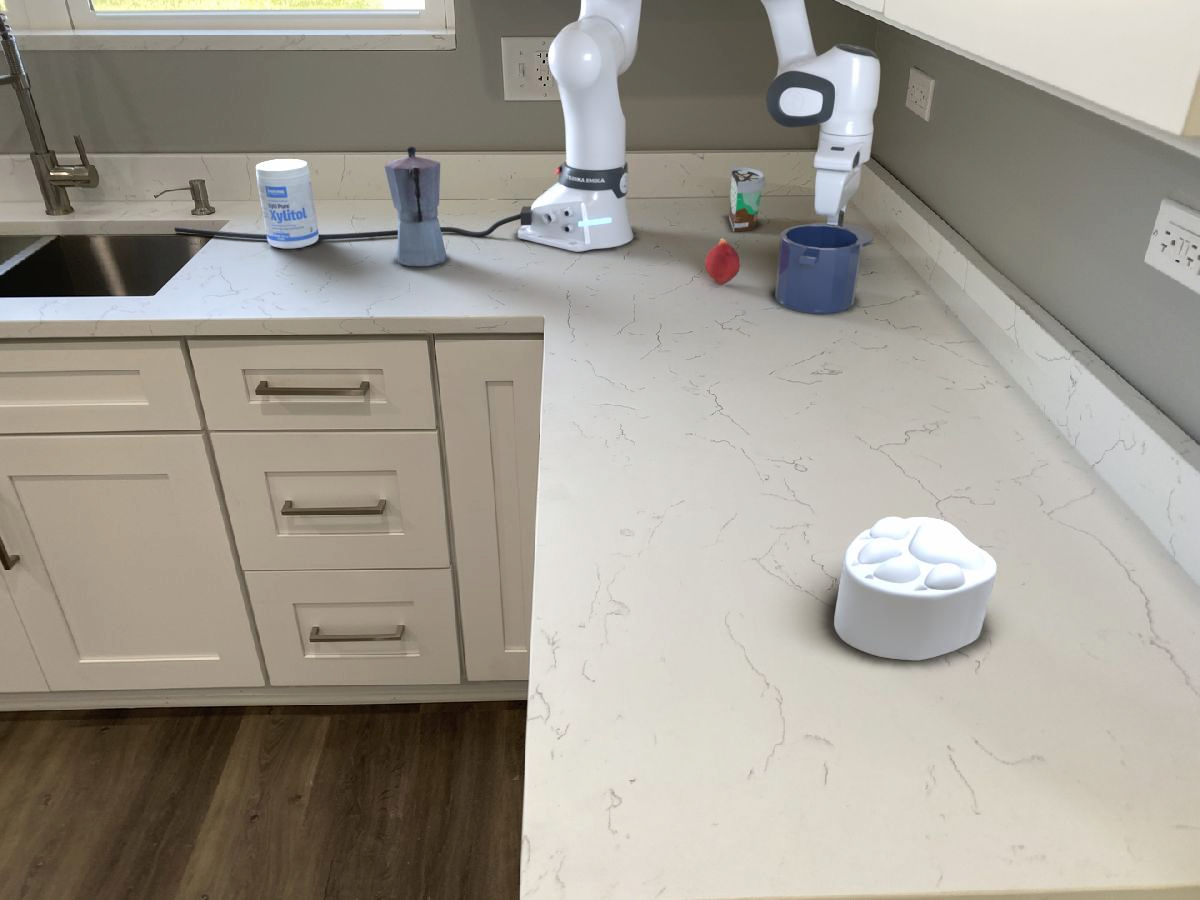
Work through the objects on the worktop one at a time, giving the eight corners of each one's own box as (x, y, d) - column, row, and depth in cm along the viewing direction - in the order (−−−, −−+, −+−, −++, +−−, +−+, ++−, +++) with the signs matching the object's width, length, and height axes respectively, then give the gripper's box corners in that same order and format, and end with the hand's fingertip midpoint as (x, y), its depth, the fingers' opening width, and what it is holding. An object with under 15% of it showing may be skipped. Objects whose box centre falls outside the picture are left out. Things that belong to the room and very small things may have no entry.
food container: (766, 233, 181) (770, 182, 175) (734, 233, 181) (738, 182, 175) (757, 215, 191) (761, 166, 186) (728, 215, 191) (731, 166, 186)
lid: (786, 246, 163) (789, 217, 160) (805, 225, 174) (808, 197, 171) (864, 256, 158) (868, 227, 155) (879, 233, 169) (883, 205, 166)
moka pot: (442, 245, 176) (432, 137, 165) (457, 272, 163) (447, 156, 153) (391, 250, 173) (378, 141, 163) (403, 278, 160) (389, 161, 150)
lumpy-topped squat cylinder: (997, 636, 83) (1019, 559, 78) (876, 676, 78) (892, 597, 74) (921, 569, 91) (937, 496, 86) (808, 602, 87) (819, 527, 82)
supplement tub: (275, 253, 172) (260, 173, 165) (262, 239, 179) (247, 162, 172) (327, 244, 176) (314, 166, 169) (312, 231, 183) (299, 155, 176)
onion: (737, 279, 159) (741, 233, 155) (738, 291, 155) (742, 244, 150) (703, 277, 160) (706, 232, 156) (703, 290, 155) (706, 243, 151)
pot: (761, 312, 147) (767, 248, 141) (790, 275, 161) (797, 216, 155) (840, 325, 142) (849, 259, 137) (863, 286, 156) (872, 225, 151)
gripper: (839, 134, 167) (830, 209, 174) (811, 159, 151) (802, 242, 158) (874, 137, 164) (864, 213, 172) (850, 163, 149) (839, 246, 156)
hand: (834, 227), depth 165 cm, fingers closed on lid, 2 cm apart
